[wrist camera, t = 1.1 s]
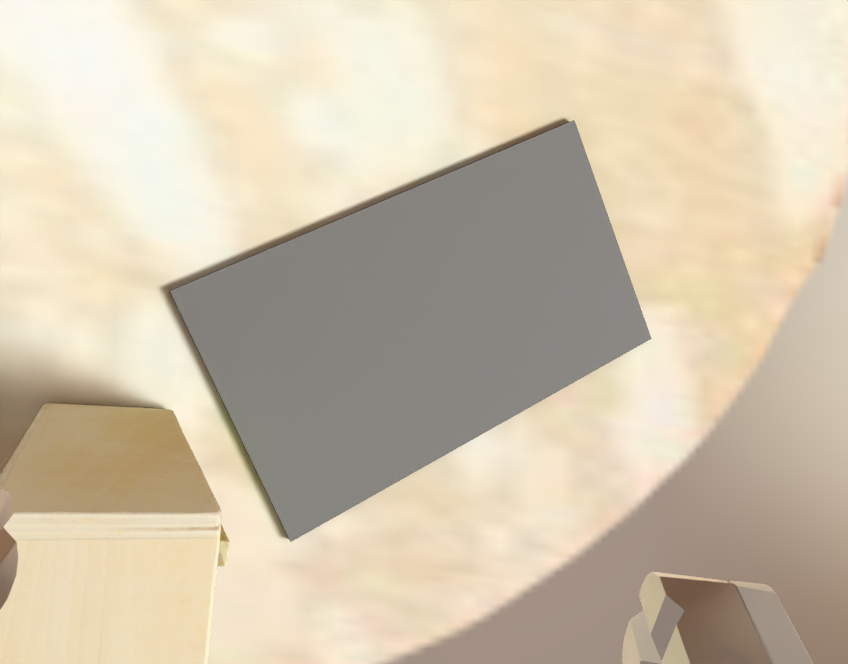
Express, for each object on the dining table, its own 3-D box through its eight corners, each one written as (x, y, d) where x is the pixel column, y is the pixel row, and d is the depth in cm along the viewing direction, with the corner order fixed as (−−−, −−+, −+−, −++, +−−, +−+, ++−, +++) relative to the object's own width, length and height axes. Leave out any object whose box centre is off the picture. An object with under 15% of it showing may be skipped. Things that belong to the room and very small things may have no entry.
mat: (289, 539, 45) (290, 541, 44) (169, 291, 42) (170, 290, 41) (646, 338, 54) (651, 338, 53) (570, 121, 51) (574, 120, 50)
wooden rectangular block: (174, 551, 42) (219, 768, 23) (27, 553, 40) (-63, 800, 20) (189, 409, 42) (247, 506, 23) (43, 401, 40) (-32, 503, 20)
